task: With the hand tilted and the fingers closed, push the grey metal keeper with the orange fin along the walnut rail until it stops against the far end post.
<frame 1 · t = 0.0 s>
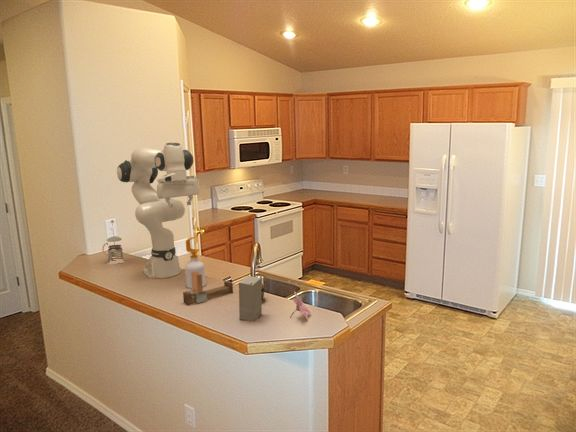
hand: (180, 206, 218), 39 cm above the countertop, tool pointing down, fingers open, 8 cm apart
keeper: (197, 286, 202), point 6 cm above the countertop, slide at 0.0 cm
french press: (114, 262, 268), on the countertop
skincare box: (251, 317, 184), on the countertop
lily: (300, 318, 182), on the countertop
soap bottle: (196, 286, 224), on the countertop
rail: (208, 297, 207), on the countertop
cupcake: (253, 301, 202), on the countertop
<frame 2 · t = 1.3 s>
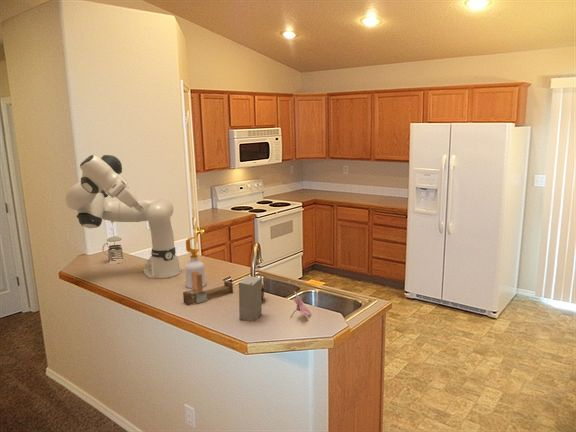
hand: (142, 210, 192), 41 cm above the countertop, tool tilted 40°, fingers open, 8 cm apart
nothing on the countertop moved.
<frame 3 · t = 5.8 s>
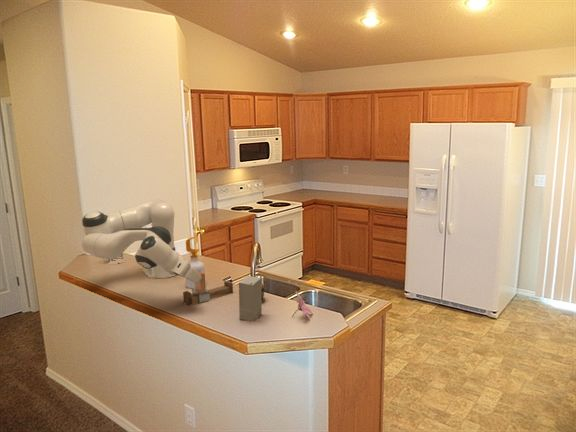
hand: (196, 281, 201), 9 cm above the countertop, tool tilted 45°, fingers closed
keeper: (200, 286, 203), point 6 cm above the countertop, slide at 1.5 cm, touching gripper
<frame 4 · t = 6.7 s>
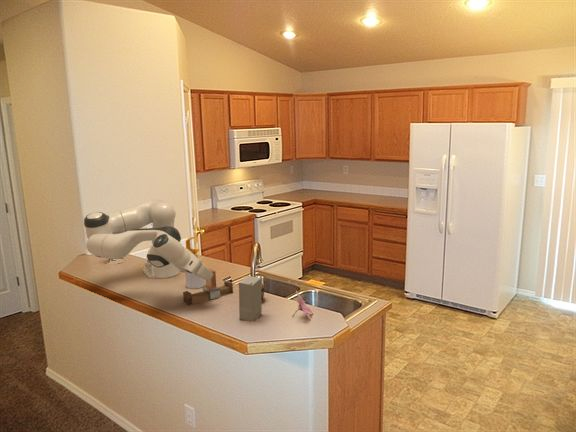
hand: (207, 278, 204), 9 cm above the countertop, tool tilted 45°, fingers closed, pressing on keeper
keeper: (210, 283, 207), point 6 cm above the countertop, slide at 6.8 cm, touching gripper
everything else where it was.
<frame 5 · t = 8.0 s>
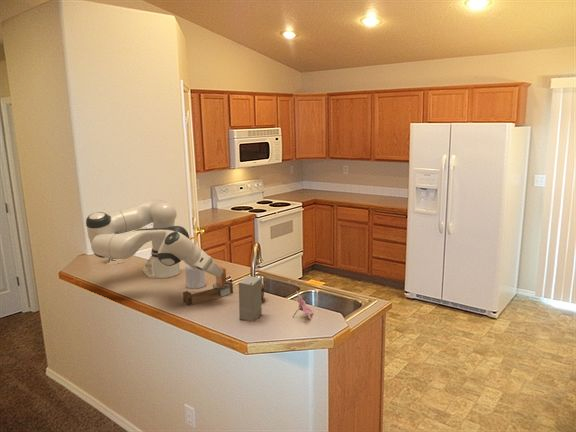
hand: (217, 275, 208), 9 cm above the countertop, tool tilted 45°, fingers closed, pressing on keeper
keeper: (221, 280, 210), point 6 cm above the countertop, slide at 12.1 cm, touching gripper
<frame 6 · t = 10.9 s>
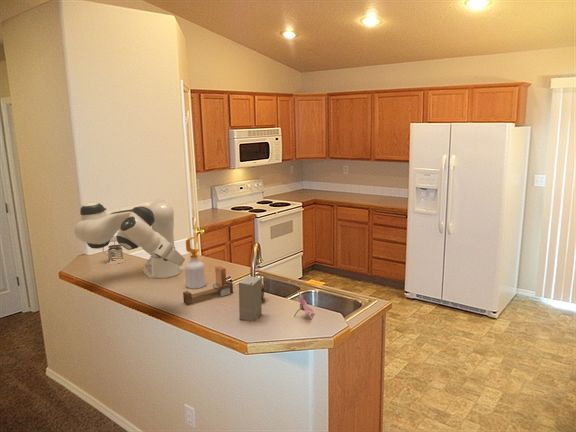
hand: (180, 264, 195), 18 cm above the countertop, tool tilted 45°, fingers closed
keeper: (221, 280, 210), point 6 cm above the countertop, slide at 12.0 cm
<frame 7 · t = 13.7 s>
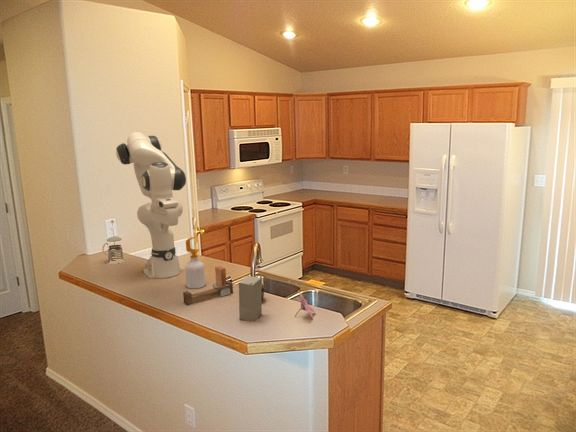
hand: (164, 233, 197), 31 cm above the countertop, tool pointing down, fingers closed
at the end: keeper slide at 12.0 cm; the gripper is holding nothing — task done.
